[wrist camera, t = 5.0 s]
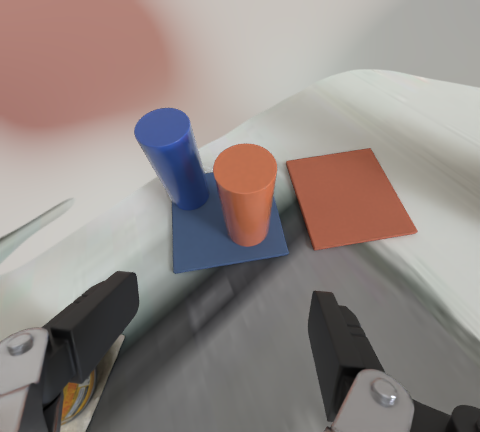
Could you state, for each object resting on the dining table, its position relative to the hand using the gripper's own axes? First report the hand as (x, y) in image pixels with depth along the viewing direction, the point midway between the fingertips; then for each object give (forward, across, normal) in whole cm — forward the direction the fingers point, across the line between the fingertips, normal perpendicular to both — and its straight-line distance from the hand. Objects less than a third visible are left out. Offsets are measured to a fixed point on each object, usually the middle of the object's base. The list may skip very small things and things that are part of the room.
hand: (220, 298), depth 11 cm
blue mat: (+19, +3, +2) cm, 19 cm away
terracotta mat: (+22, -12, -1) cm, 25 cm away
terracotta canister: (+18, 0, +3) cm, 18 cm away
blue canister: (+20, +8, 0) cm, 22 cm away
